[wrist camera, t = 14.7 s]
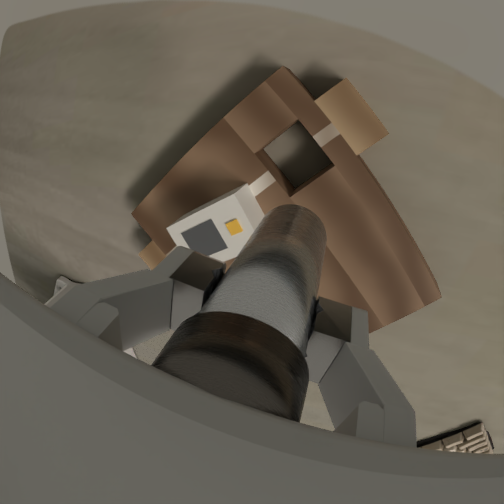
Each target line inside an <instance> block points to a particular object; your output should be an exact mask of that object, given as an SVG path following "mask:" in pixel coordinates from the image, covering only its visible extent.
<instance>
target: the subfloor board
mask: <svg viewBox="0 0 504 504" xmlns="http://www.w3.org/2000/svg"><path fill="white" fill-rule="evenodd" d="M297 121H300V122H301V123H302V124H303V126H304V127H305V128H306V129H307V130H308V132H309V133H310V134H311V135H312V137H313V138H314V139H315V140H316V142H317V143H318V144H319V146H320V147H321V148H322V149H323V151H324V152H325V153H326V155H327V156H328V157H329V158H330V160H331V161H332V162H333V163H331V164H330V165H329V166H327V167H326V168H324V169H323V170H322V171H320V172H319V173H317V174H316V175H314V176H313V177H312V178H310V179H309V180H307V181H306V182H305V183H303V184H302V185H300V186H299V187H298V188H296V189H295V188H294V187H293V185H292V184H291V183H290V182H289V180H288V179H287V178H286V177H285V175H284V174H283V173H282V172H281V170H280V169H279V168H278V167H277V165H276V164H275V163H274V162H273V161H272V159H271V158H270V157H269V156H268V154H267V153H266V152H265V151H264V150H263V148H265V147H266V146H267V145H268V144H270V143H271V142H272V141H273V140H274V139H276V138H277V137H278V136H280V135H281V134H282V133H283V132H285V131H286V130H287V129H288V128H290V127H291V126H292V125H294V124H295V123H296V122H297ZM388 134H389V133H388V131H387V130H386V129H385V127H384V126H383V124H382V123H381V122H380V120H379V119H378V117H377V116H376V115H375V113H374V112H373V111H372V109H371V108H370V107H369V105H368V104H367V103H366V102H365V100H364V99H363V98H362V96H361V95H360V94H359V93H358V91H357V90H356V89H355V88H354V86H353V85H352V84H351V83H350V82H349V80H348V79H347V78H345V79H344V80H342V81H341V82H339V83H338V84H337V85H335V86H334V87H332V88H331V89H330V90H328V91H327V92H326V93H324V94H323V95H322V96H320V97H319V98H318V99H315V98H314V96H313V95H312V94H311V93H310V92H309V91H308V89H307V88H306V87H305V86H304V85H303V84H302V83H301V82H300V80H299V79H298V78H297V77H296V76H295V75H294V74H293V73H292V72H291V70H290V69H288V68H286V67H284V66H282V67H281V68H280V69H278V70H277V71H276V72H275V73H273V74H272V75H271V76H270V77H269V78H267V79H266V80H265V81H264V82H263V83H261V84H260V85H259V86H258V87H257V88H256V89H254V90H253V91H252V92H251V93H250V94H249V95H248V96H246V97H245V98H244V99H243V100H242V101H241V102H240V103H239V104H237V105H236V106H235V107H234V108H233V109H232V110H231V111H230V112H229V113H228V114H226V115H225V116H224V117H223V118H222V119H221V120H220V121H219V122H218V123H217V124H216V125H215V126H214V127H213V128H212V129H211V130H210V131H208V132H207V133H206V134H205V135H204V136H203V137H202V138H201V139H200V140H199V141H198V142H197V143H196V144H195V145H194V146H193V147H192V148H191V149H190V150H189V151H188V152H187V153H186V154H185V155H184V156H183V157H182V158H181V159H180V160H179V162H178V163H177V164H176V165H175V166H174V167H173V168H172V169H171V170H170V171H169V172H168V173H167V174H166V175H165V176H164V177H163V178H162V180H161V181H160V182H159V183H158V184H157V185H156V186H155V187H154V188H153V189H152V190H151V192H150V193H149V194H148V195H147V196H146V197H145V198H144V199H143V201H142V202H141V203H140V204H139V205H138V206H137V207H136V209H135V210H134V211H133V212H132V213H131V214H132V215H133V217H134V218H135V219H136V220H137V222H138V223H139V224H140V225H141V227H142V228H143V229H144V230H145V231H146V233H147V234H148V235H149V236H150V237H151V239H152V241H151V242H150V243H149V244H148V245H147V246H146V247H145V248H144V249H143V250H142V251H141V252H140V253H139V256H140V257H141V258H142V259H143V260H144V262H145V263H146V264H147V265H148V266H149V267H150V269H151V270H153V269H154V268H155V267H156V266H157V265H158V264H159V263H160V262H161V261H162V260H164V259H165V258H166V257H167V256H168V255H169V254H170V253H171V252H172V251H173V250H174V249H175V248H176V247H177V245H176V244H175V242H174V240H173V239H172V237H171V235H170V234H169V232H168V230H167V229H166V228H167V227H168V226H170V225H171V224H172V223H174V222H175V221H176V220H178V219H179V218H180V217H182V216H183V215H185V214H187V213H188V212H190V211H192V210H194V209H196V208H198V207H200V206H202V205H204V204H206V203H208V202H210V201H212V200H214V199H216V198H218V197H220V196H222V195H224V194H226V193H228V192H230V191H232V190H234V189H236V188H238V187H240V186H242V185H244V184H246V183H248V185H249V187H250V189H251V191H252V193H253V195H254V196H255V198H256V200H257V202H258V204H259V206H260V208H261V209H262V211H263V213H264V215H266V214H267V213H268V212H269V211H270V210H272V209H273V208H275V207H277V206H281V205H286V204H295V205H300V206H303V207H305V208H307V209H309V210H311V211H312V212H314V213H315V214H316V215H317V216H318V217H319V218H320V220H321V221H322V223H323V225H324V227H325V230H326V235H327V241H326V248H325V255H324V261H323V267H322V273H321V278H320V284H319V290H318V295H317V298H318V296H321V297H324V298H327V299H330V300H333V301H336V302H339V303H342V304H345V305H349V306H353V307H356V308H360V309H363V310H366V311H367V312H368V326H369V333H371V332H373V331H375V330H378V329H380V328H382V327H384V326H386V325H388V324H390V323H393V322H395V321H397V320H399V319H401V318H403V317H405V316H407V315H409V314H411V313H413V312H415V311H417V310H419V309H421V308H423V307H425V306H426V305H428V304H430V303H432V302H434V301H436V300H438V299H440V298H441V293H440V291H439V288H438V285H437V282H436V280H435V278H434V276H433V274H432V272H431V270H430V268H429V266H428V265H427V263H426V261H425V259H424V257H423V255H422V253H421V252H420V250H419V248H418V246H417V244H416V243H415V241H414V239H413V237H412V236H411V234H410V232H409V231H408V229H407V227H406V225H405V224H404V222H403V220H402V219H401V217H400V215H399V214H398V212H397V211H396V209H395V207H394V206H393V204H392V203H391V201H390V199H389V198H388V196H387V195H386V193H385V192H384V190H383V189H382V187H381V186H380V184H379V183H378V181H377V180H376V178H375V177H374V175H373V174H372V172H371V171H370V169H369V168H368V167H367V165H366V164H365V162H364V161H363V159H362V158H361V157H360V155H359V154H360V153H361V152H363V151H364V150H366V149H367V148H369V147H370V146H372V145H373V144H375V143H376V142H378V141H379V140H380V139H382V138H383V137H385V136H386V135H388ZM235 258H236V257H235ZM235 258H232V259H230V260H227V261H224V262H225V263H226V271H225V273H226V272H227V270H228V269H229V267H230V266H231V264H232V263H233V261H234V260H235Z"/></svg>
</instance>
